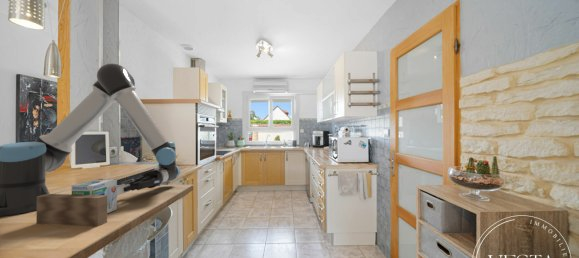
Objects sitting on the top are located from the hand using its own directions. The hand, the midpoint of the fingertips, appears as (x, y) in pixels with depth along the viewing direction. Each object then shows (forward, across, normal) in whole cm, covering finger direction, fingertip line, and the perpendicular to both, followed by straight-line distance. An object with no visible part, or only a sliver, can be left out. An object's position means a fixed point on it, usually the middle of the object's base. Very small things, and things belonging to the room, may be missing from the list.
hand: (112, 192), depth 82 cm
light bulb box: (+6, +1, -6) cm, 8 cm away
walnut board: (+13, +2, -6) cm, 14 cm away
